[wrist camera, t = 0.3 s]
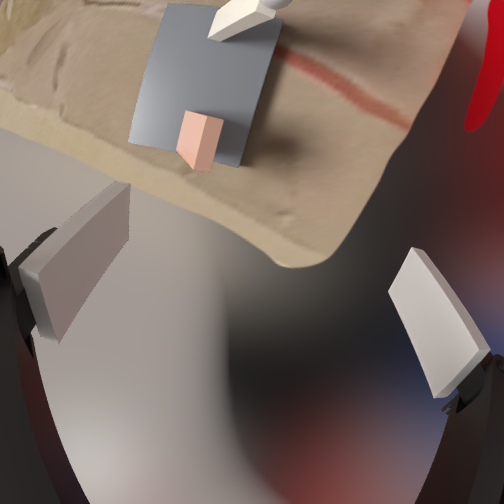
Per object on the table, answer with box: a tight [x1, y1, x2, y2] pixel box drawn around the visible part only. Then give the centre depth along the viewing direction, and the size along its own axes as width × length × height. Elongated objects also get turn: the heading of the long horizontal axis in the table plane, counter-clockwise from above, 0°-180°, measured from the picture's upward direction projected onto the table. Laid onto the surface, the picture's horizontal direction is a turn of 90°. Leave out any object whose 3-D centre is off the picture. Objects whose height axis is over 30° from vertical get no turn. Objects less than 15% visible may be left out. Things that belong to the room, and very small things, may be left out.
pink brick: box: [176, 110, 224, 172], centre depth 29 cm, size 5×2×10 cm, turn 164°
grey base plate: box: [128, 3, 283, 168], centre depth 31 cm, size 20×15×2 cm
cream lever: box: [208, 0, 292, 42], centre depth 21 cm, size 4×3×16 cm
